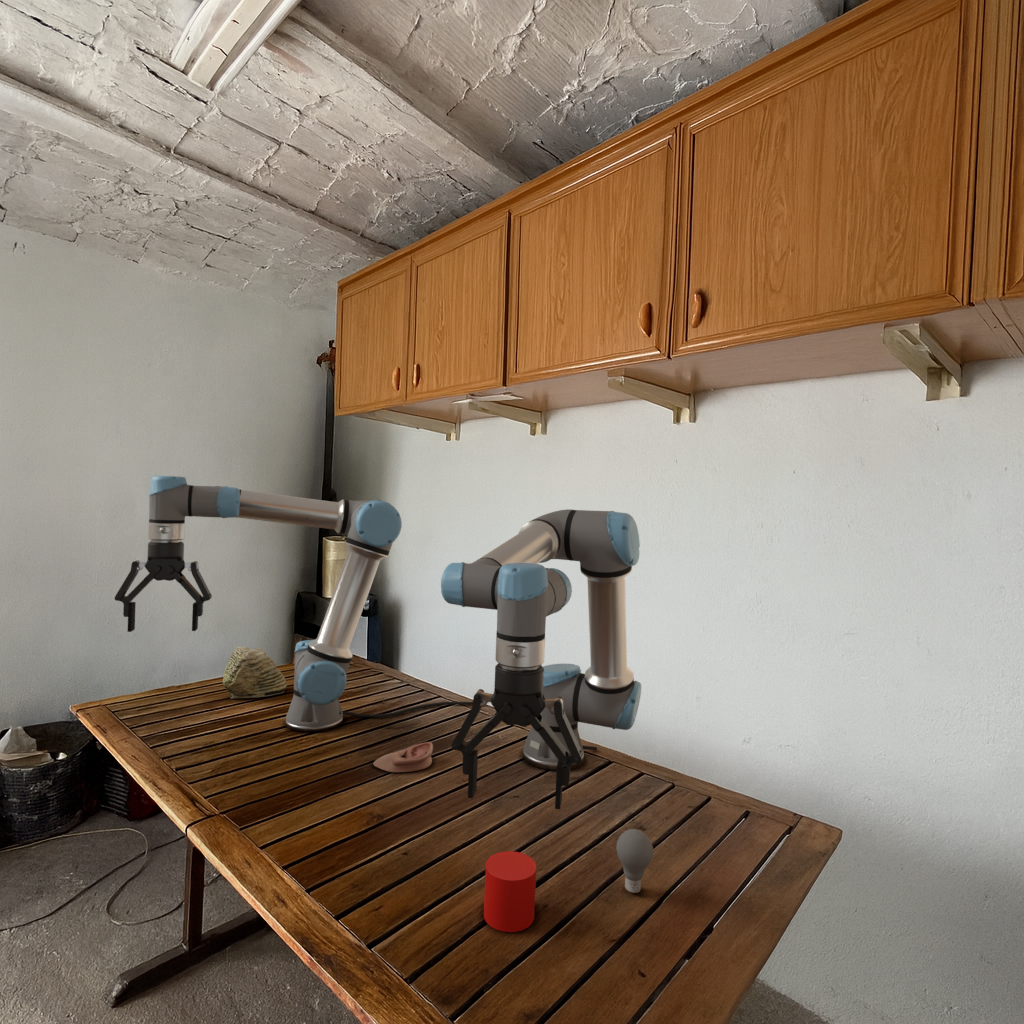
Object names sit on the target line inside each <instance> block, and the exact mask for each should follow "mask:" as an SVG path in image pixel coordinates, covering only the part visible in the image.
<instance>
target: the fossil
mask: <svg viewBox="0 0 1024 1024" xmlns="http://www.w3.org/2000/svg"><path fill="white" fill-rule="evenodd" d="M222 676H223V677H222V685H223V687H224V688H225V690H226V691H228V693H229V698H230V699H250V698H264V697H271V696H275V695H281V694H284V693H285V691H286V689H287V687H288V686H287V680H286V678H285V676H284V674H283V673H282V672H281V669H279V668H278V667H277V665H276V663H275V662H274V660H273V659H272V658H271V657H270V656H269V655H268V654H267V653H266V652H265V650H264V649H263V648H260V647H258V648H251V647H247V646H246V647H245V646H238V647H237V648H236V649H235V650H233V651H232V653H231V656H230V657H229V659H228V660H227V663H226V666H225V668H224V671H223V675H222Z"/></svg>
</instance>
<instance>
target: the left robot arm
mask: <svg viewBox="0 0 1024 1024" xmlns="http://www.w3.org/2000/svg"><path fill="white" fill-rule="evenodd" d="M149 486H150V488H149V494H148V497H149V500H148V532H147V534H148V536H147V539H148V540H150V541H148V543H147V559H146V561H141V560H138V559H137V560H135V561H131V566H130V571H129V573H128V574H127V575H126V577H125V579H124V580H123V583H122V584H121V586H120V587H119V589H118V591H117V593H116V594H115V596H114V600H115V601H117V602H121V603H122V604H123V608H122V609H123V611H122V612H123V613H122V615H123V617H124V618H127V633H128V632H129V633H131V632H134V630H136V603H137V602H136V601H133V600H134V599H135V598H136V597H137V596H139V594H140V593H141V592H142V591H143V590H144V589H145V588H146V587H147V586H148V585H149V584H150V583H151V582H152V581H153V580H156V581H157V582H158V581H169V582H170V581H172V582H173V581H174V580H175V581H176V582H177V583H179V585H180V586H181V587H182V588H183V589H184V590H185V592H187V594H188V595H189V596H190V597H191V598H192V599H193V600H194V601H195V602H193V603H192V615H191V617H192V618H191V622H192V623H191V632H196V631H197V630H198V629H199V628H198V627H199V617H202V616H203V614H204V603H206V602H208V601H210V600H211V599H212V597H213V595H212V593H211V591H210V589H209V587H208V585H207V583H206V582H205V579H204V578H203V576H202V574H201V572H200V568H199V562H198V561H197V560H194V561H192V562H191V561H190V562H185V559H184V556H185V543H184V541H183V540H185V531H186V530H185V529H186V523H185V522H186V517H197V518H221V519H228V518H229V519H231V518H238V519H245V520H246V519H247V520H254V521H261V522H262V521H263V522H269V523H270V522H271V523H281V524H287V525H294V526H295V525H296V526H303V527H313V528H319V529H320V528H321V529H328V530H334V531H335V532H336V533H337V534H339V535H340V534H341V535H347V537H346V539H345V542H344V545H346V547H347V554H346V557H345V559H344V562H343V565H342V568H341V570H340V573H339V576H338V579H337V582H336V583H335V587H334V589H333V592H332V596H331V598H330V601H329V604H328V607H327V610H326V612H325V615H324V618H323V620H322V623H321V626H320V629H319V631H318V634H317V637H316V638H315V639H307V640H300V641H298V642H297V643H295V648H294V649H295V650H294V672H293V673H294V674H293V675H294V676H293V678H294V679H293V695H292V696H293V697H292V699H291V702H290V704H289V708H288V711H287V713H286V715H285V726H286V728H287V729H289V730H291V731H294V732H295V731H296V732H301V733H316V732H325V731H329V730H332V729H335V728H337V727H339V726H340V725H342V723H343V722H344V715H345V716H349V717H356V718H367V719H369V718H371V719H372V718H373V719H374V718H375V719H377V718H387V717H394V716H397V715H398V716H399V715H400V714H405V713H408V712H412V711H416V710H420V709H425V708H431V707H438V706H453V705H458V706H459V705H460V706H462V705H463V706H466V705H467V706H472V705H473V701H442V702H441V701H440V702H433V703H426V704H421V705H416V706H413V707H407V708H404V709H401V710H397V711H394V712H388V713H378V714H377V713H376V714H374V713H373V714H371V713H370V714H368V713H367V714H366V713H356V712H352V711H351V712H350V711H344V710H343V709H342V706H341V702H340V699H339V698H340V697H341V696H342V695H343V694H344V692H345V690H346V686H347V681H348V679H347V678H348V677H347V676H348V675H347V673H348V671H349V667H350V665H351V661H352V659H353V653H352V651H351V649H350V647H351V645H352V641H353V639H354V636H355V633H356V630H357V626H358V625H359V621H360V619H361V616H362V613H363V610H364V607H365V605H366V602H367V600H368V596H369V593H370V590H371V589H372V585H373V582H374V579H375V577H376V574H377V571H378V568H379V565H380V562H381V561H383V560H384V559H387V558H388V557H389V554H390V552H391V549H392V546H393V543H394V542H395V541H396V540H397V538H398V537H399V535H400V533H401V531H402V526H403V525H402V523H403V522H402V516H401V514H400V512H399V511H398V510H397V509H396V508H395V506H394V505H392V504H391V503H390V502H387V501H385V500H381V499H364V500H351V499H341V500H340V501H332V500H331V501H330V500H322V499H316V498H310V497H309V498H308V497H300V496H293V495H286V494H277V493H270V492H263V491H255V490H247V489H239V488H238V487H232V486H225V485H223V486H220V485H215V486H214V485H191V484H188V483H187V479H186V477H185V476H178V475H177V476H176V475H175V476H174V475H154V476H153V477H152V478H151V480H150V485H149ZM144 568H145V570H146V571H147V572H148V574H147V575H146V576H145V577H144V578H143V579H142V580H141V581H140V582H139V583H138V584H137V585H136V586H135V587H134V588H133V590H131V591H130V593H128V594H127V592H128V591H129V589H130V587H131V586H132V584H133V582H134V581H135V579H136V577H137V576H138V574H139V572H140V571H142V570H143V569H144ZM185 569H187V570H188V572H191V575H192V577H193V579H194V581H195V584H196V585H197V587H198V589H199V591H200V592H201V593H199V591H198V590H197V589H196V588H195V586H193V585H192V584H191V582H190V581H189V580H188V579H187V578H186V576H185V574H184V573H182V572H184V570H185ZM126 594H127V595H126Z"/></svg>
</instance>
